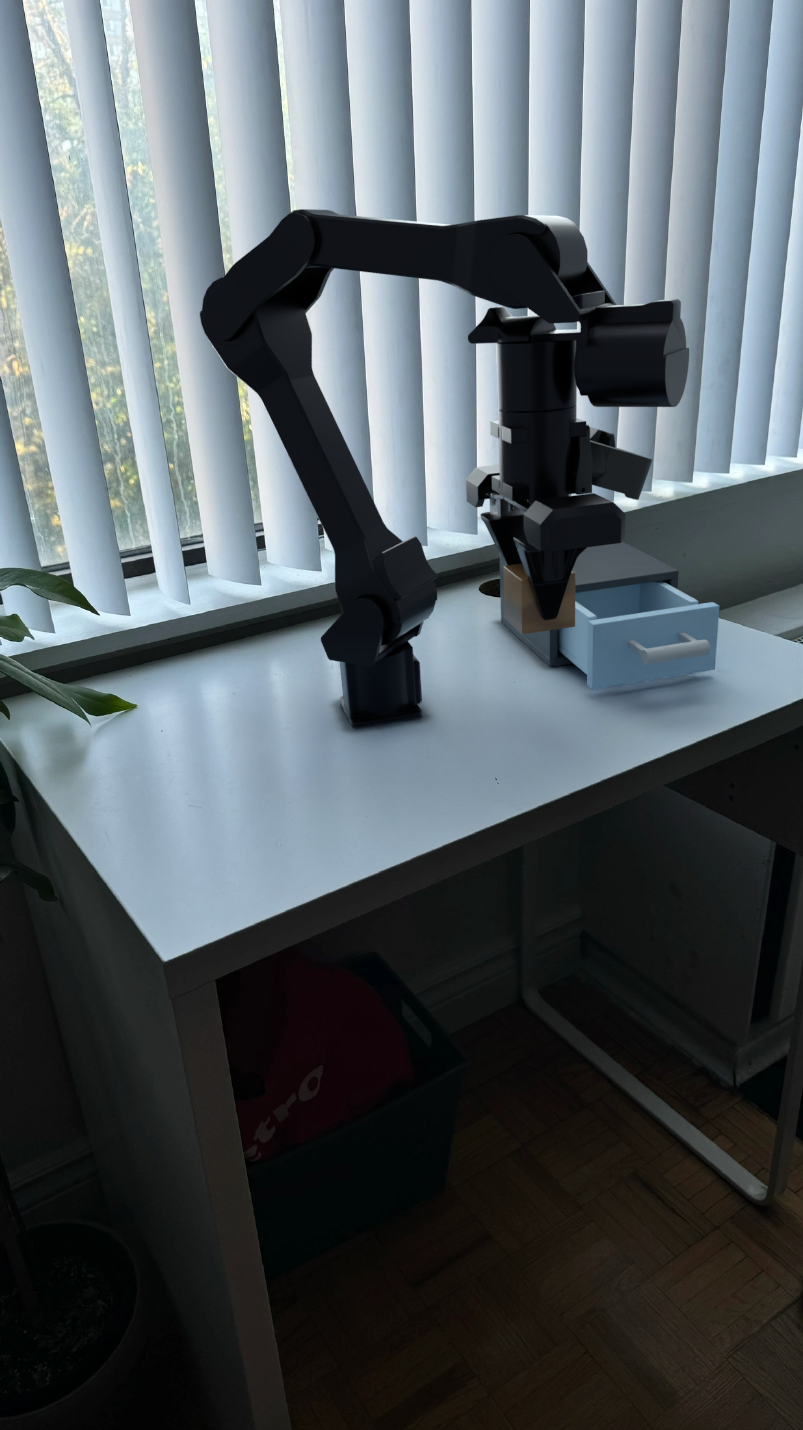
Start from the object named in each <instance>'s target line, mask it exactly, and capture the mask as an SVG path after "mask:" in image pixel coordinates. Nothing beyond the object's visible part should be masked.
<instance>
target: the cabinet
mask: <svg viewBox="0 0 803 1430" xmlns="http://www.w3.org/2000/svg"><path fill="white" fill-rule="evenodd" d="M503 566H505V564H504V562H503V560H502V558H501V556H500V555H499V589H500V590H499V591H500V592H499V594H500V595H499V596H500V623H501V624H502V625H503V626H504V627H505V628H507V629H508V630H509V631H510V632H511V633H512V634H513V635H514V636H515V637H516V638H517V639H518V640H520V641H521V642H522V643H523V644H524V645H525V646H526V647H527V648H529V649H530V650H531V651H532V652H533V653H534V654H535V656H537V657H538V658H539V659H541V661H543V662H544V663H545V664H546V665H547V666H549V667H550V668H552V667H558V666H559V667H560V666H566V665H571V664H574V663H573V662H571V661H570V660H569V659H568V658H567V657H566V656H564V655H563V654H562V653H561V652H560V651H559V650H557V629H556V630H549V631H543V632H536V633H529V634H522V633H521V632H519V631H518V630H517V629H516V628H515V627H514V626H513V625H512V624H511V623H510V622H509V621H508V620H506V619H505V617H504V578H503ZM572 571H573V572H575V593H579V592H586V591H593V590H599V589H606V588H613V587H620V586H627V585H634V584H641V583H648V582H655V581H663V582H665V583H667V584H669V585H670V586H672V587H674V588H676V589H678V590H679V576H680V575H679V573H680V571H679V570H678V569H676V568H675V567H673V566H671V565H668V564H667V563H664V562H662V560H660V559H657V558H655V557H653V556H652V555H649V554H647V553H646V552H644V551H642V550H639V549H638V548H636V547H634V546H632V545H631V544H628V543H626V542H625V541H623V542H622V543H617V544H609V545H602V546H594V547H587V548H586V549H585V550H584V551H583V552H582V553H581V554H580V555H579V556H578V557H577V560H576V562H575V565H574V567H573V570H572Z"/></svg>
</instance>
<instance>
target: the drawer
mask: <svg viewBox="0 0 803 1430" xmlns="http://www.w3.org/2000/svg"><path fill="white" fill-rule="evenodd" d="M719 619H720V605H719V604H717V603H716V602H714V601H710V602H704V603H699V600H697V599H696V598H694V597H692V596H690V595H688V594H687V593H685V592H683V591H681V590H679V588H678V589H676V588H674V587H672V586H670V585H669V584H667V583H665V582H663V581H655V582H648V583H641V584H634V585H627V586H620V587H613V588H606V589H599V590H593V591H586V592H579V593H575V627H570V628H563V629H557V650H559V651H560V652H561V653H562V654H563V655H564V656H566V657H567V658H568V659H569V660H570V661H571V662H573V663H572V664H573V665H575V666H576V667H577V668H578V669H579V670H581V671H582V672H583V673H584V674H585V675H586V685H587V686H588V687H589V688H590V689H591V690H599V689H605V688H611V687H616V686H623V685H628V684H635V683H640V682H646V681H652V680H659V679H666V678H669V677H671V678H672V677H676V676H677V677H679V676H683V675H690V674H696V673H701V672H707V671H714V670H715V669H716V659H717V646H718V634H719Z"/></svg>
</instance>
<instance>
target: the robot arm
mask: <svg viewBox="0 0 803 1430" xmlns="http://www.w3.org/2000/svg"><path fill="white" fill-rule="evenodd" d="M588 260H589V259H588V247H587V244H586V239H585V237H584V235H583V233H582V232H581V230H580V229H579V228H578V226H577V224H576V223H575V222H574V221H572V220H570V219H569V218H567V217H564V216H561V215H539V214H538V215H537V214H516V215H508V216H502V217H494V218H485V219H478V220H472V221H468V222H462V223H455V224H448V223H438V222H437V223H436V222H427V221H417V220H405V219H404V220H403V219H395V218H384V217H383V218H382V217H371V216H361V215H360V216H359V215H348V214H340V213H337V212H335V211H333V210H330V209H311V208H310V209H309V208H307V209H306V208H301V209H294V210H292V211H291V212H289V213H288V214H287V215H285V216H284V217H282V219H281V220H280V222H279V223H278V224H277V225H276V227H274V229H273V231H271V233H269V235H268V236H267V237H266V238H265V239H263V240H262V241H261V242H259V243H258V244H257V245H255V246H254V247H253V248H252V249H250V250H249V252H247V253H245V255H243V256H242V257H241V258H240V259H238V260H237V261H236V262H235V263H233V264H232V266H231V267H230V268H229V269H228V271H227V272H226V273H225V275H224V276H223V277H219V278H217V279H216V280H214V281H212V282H211V284H210V285H208V287H207V288H206V291H205V293H204V296H203V298H202V305H201V310H200V311H199V319H200V325H201V328H202V331H203V332H204V335H205V336H206V338H207V340H208V341H209V343H210V345H211V346H212V348H213V349H214V350H215V352H216V354H217V355H218V357H219V358H220V360H221V361H222V363H223V364H224V365H225V367H226V369H228V371H229V372H231V373H232V374H233V375H234V376H236V377H237V378H238V379H239V380H240V381H241V382H243V384H245V386H247V387H248V388H250V390H252V391H253V392H254V393H255V394H256V395H258V397H259V399H260V400H261V403H262V404H263V407H264V409H265V411H266V413H267V415H268V417H269V419H270V421H271V423H272V426H273V427H274V429H275V431H276V433H277V436H278V438H279V440H280V442H281V444H282V446H283V448H284V450H285V452H286V454H287V456H288V458H289V460H290V462H291V465H292V467H293V469H294V470H295V473H296V476H297V477H298V479H299V481H300V483H301V485H302V487H303V489H304V492H305V493H306V496H307V498H308V500H309V503H310V504H311V506H312V508H313V510H314V512H315V514H316V517H317V518H318V520H319V522H320V525H321V527H322V528H323V531H324V533H325V535H326V537H327V539H328V541H329V543H330V545H331V548H332V550H333V553H334V554H333V555H334V591H335V594H336V597H337V600H338V603H339V606H340V609H341V612H342V613H341V614H340V615H339V616H338V618H337V619H336V620H335V621H334V622H333V624H331V625H330V627H329V628H328V629H327V630H325V632H324V633H323V634H322V635H321V637H320V642H321V645H322V647H323V650H324V652H325V655H326V657H327V659H328V660H329V661H333V662H338V663H339V668H340V669H339V670H340V679H341V688H342V696H340V697H339V704H340V706H341V707H342V711H344V714H345V715H346V717H347V719H348V722H349V724H350V725H351V727H352V728H362V727H368V726H375V725H380V724H386V723H393V722H398V721H405V720H411V719H417V718H421V717H422V716H423V710H422V708H421V707H420V705H419V704H421V703H422V701H423V693H422V679H421V678H422V677H421V663H420V661H419V659H418V658H417V657H416V655H415V654H414V648H413V646H412V644H411V642H409V641H410V640H412V639H413V638H417V637H418V636H419V635H420V634H421V631H422V628H423V626H424V622H425V621H426V620H428V619H429V618H430V616H432V613H433V612H434V609H435V607H436V603H437V600H438V590H437V586H436V583H435V581H434V580H435V579H438V578H439V575H438V573H436V572H435V570H434V569H433V568H432V567H431V565H430V563H429V562H428V560H427V558H426V555H425V551H424V548H423V544H422V542H421V541H420V539H419V538H418V537H417V536H414V535H413V536H411V537H409V538H407V539H405V540H404V541H403V540H402V539H401V538H400V537H398V536H397V535H396V534H395V533H394V532H393V531H392V530H390V528H388V526H387V525H386V524H385V522H384V520H383V518H382V516H381V514H380V512H379V509H378V508H377V505H376V504H375V501H374V499H373V497H372V495H371V493H370V491H369V488H368V486H367V485H366V481H365V480H364V477H363V476H362V474H361V472H360V470H359V467H358V465H357V463H356V461H355V459H354V457H353V455H352V451H351V450H350V448H349V446H348V444H347V442H346V440H345V438H344V435H343V433H342V431H341V429H340V427H339V425H338V422H337V421H336V418H335V417H334V414H333V412H332V410H331V408H330V405H329V403H328V402H327V400H326V397H325V396H324V393H323V391H322V388H321V387H320V385H319V383H318V380H317V378H316V376H315V373H314V371H313V332H312V330H311V327H310V322H309V319H308V317H307V313H308V312H309V311H310V310H311V308H312V307H313V306H314V305H315V304H316V302H317V301H318V300H319V299H320V298H321V297H322V294H323V292H324V289H325V288H326V285H327V282H328V280H329V279H330V275H331V274H332V272H333V271H334V270H335V269H336V270H344V271H353V272H362V273H371V274H377V275H378V274H379V275H387V276H396V277H405V278H413V279H420V280H421V279H423V280H431V281H438V282H440V283H441V282H442V283H444V284H448V285H451V286H453V287H456V288H457V289H459V290H461V291H463V292H465V293H467V294H468V295H470V296H473V297H476V298H479V299H482V300H484V301H486V302H487V301H488V302H490V303H493V304H496V305H499V306H493V307H489V308H488V309H487V310H486V313H485V315H484V316H483V318H482V319H481V320H480V322H479V323H478V324H477V325H476V326H475V327H474V328H473V329H472V330H471V331H470V332H469V333H468V334H467V336H466V337H467V338H466V339H467V341H468V343H469V344H472V345H480V344H495V349H496V351H495V352H496V355H495V356H496V385H497V386H496V388H497V392H496V393H497V420H490V421H489V429H490V430H489V431H490V433H489V434H490V436H493V437H495V438H497V439H498V462H499V463H498V464H493V465H484V466H476V467H474V469H473V470H472V472H471V473H470V474H469V475H468V476H467V477H466V478H465V490H466V491H465V492H466V502H467V503H468V504H470V505H471V506H473V507H474V508H482V507H483V506H484V503H485V501H486V500H489V511H485V512H481V513H480V519H481V521H482V522H483V523H484V525H485V527H486V529H487V531H488V533H489V535H490V537H491V539H492V542H493V543H494V545H495V547H496V549H497V552H498V555H499V557H500V556H501V558H502V560H503V562H504V564H505V566H507V565H514V564H523V567H524V570H525V573H526V575H527V578H528V581H529V584H530V587H531V590H532V592H533V595H534V598H535V601H536V604H537V606H538V609H539V611H540V614H541V616H542V618H543V619H544V620H551V619H555V618H557V616H558V613H559V610H560V607H561V603H562V600H563V597H564V594H565V591H566V588H567V585H568V581H569V578H570V575H571V572H572V570H573V567H574V565H575V562H576V560H577V557H578V556H579V555H580V554H581V553H582V552H583V551H584V550H585V549H586V548H587V547H594V546H602V545H609V544H617V543H622V542H625V541H626V519H627V518H626V515H627V514H626V513H625V512H624V510H623V509H621V508H620V507H619V506H618V505H617V503H615V502H614V501H612V500H610V499H608V498H605V497H603V496H601V495H599V494H596V493H594V492H593V486H595V487H598V488H601V489H605V490H608V491H613V492H616V493H619V494H623V495H624V497H625V498H627V499H631V500H635V501H639V500H640V497H641V494H642V492H643V488H644V485H645V483H646V481H647V477H648V474H649V472H650V469H651V466H652V463H653V460H654V459H652V458H649V457H647V456H644V455H641V454H637V453H635V452H633V451H628V450H626V449H622V448H619V447H617V446H616V437H615V434H614V433H612V432H609V431H605V430H604V429H603V430H602V429H599V428H596V427H592V426H590V425H589V424H588V423H587V420H584V419H582V418H581V419H580V418H577V411H578V410H577V407H578V406H577V400H578V399H577V397H578V396H577V395H578V392H577V390H578V391H579V395H580V396H582V397H583V396H584V397H587V398H588V401H589V403H590V404H591V406H592V407H595V408H675V407H677V406H678V405H679V404H680V402H681V400H682V398H683V396H684V392H685V389H686V385H687V380H688V375H689V366H690V348H689V347H687V335H686V329H685V324H684V322H683V320H682V318H681V315H682V314H681V313H682V312H681V311H682V301H681V300H680V299H679V298H672V299H671V298H670V299H660V300H659V299H658V300H655V301H651V302H648V303H636V304H635V303H634V304H633V303H632V304H617V302H616V301H615V300H614V298H613V297H612V295H611V294H610V293H609V291H608V289H607V288H606V287H605V285H604V284H603V282H602V281H601V278H599V277H598V275H597V273H596V272H595V271H594V269H593V268H592V266H591V264H590V263H589V262H588ZM506 308H508V309H513V310H520V309H521V310H522V309H528V310H529V311H531V312H532V313H534V314H535V315H523V316H513V314H511V313H510V312H509V311H508V310H507V309H506ZM572 323H573V324H574V323H579V324H580V329H579V328H578V329H577V328H576V329H557V328H556V325H555V324H572Z"/></svg>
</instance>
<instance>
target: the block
mask: <svg viewBox="0 0 803 1430" xmlns="http://www.w3.org/2000/svg"><path fill="white" fill-rule="evenodd" d="M503 578H504V617H505V619H506V620H508V621H509V622H510V623H511V624H512V625H513V626H514V627H515V628H516V629H517V630H518V631H519V632H521V633H522V634H529V633H536V632H543V631H549V630H556V629H563V628H570V627H575V572H573V571H572V572H571V575H570V578H569V581H568V585H567V588H566V591H565V594H564V597H563V600H562V603H561V607H560V610H559V613H558V616H557V618H555V619H551V620H544V619H543V618H542V616H541V614H540V611H539V609H538V606H537V604H536V601H535V598H534V595H533V592H532V590H531V587H530V584H529V581H528V578H527V575H526V573H525V570H524V567H523V564H514V565H507V566H503Z"/></svg>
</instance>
